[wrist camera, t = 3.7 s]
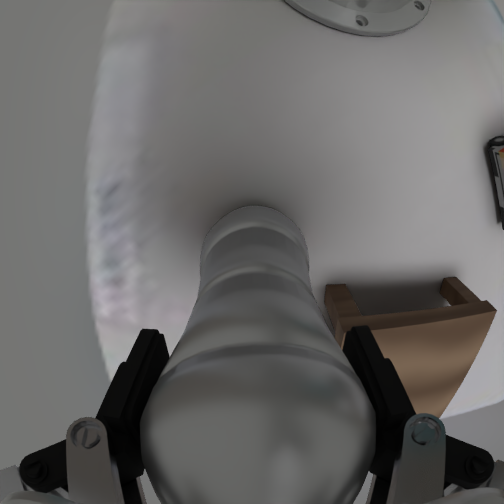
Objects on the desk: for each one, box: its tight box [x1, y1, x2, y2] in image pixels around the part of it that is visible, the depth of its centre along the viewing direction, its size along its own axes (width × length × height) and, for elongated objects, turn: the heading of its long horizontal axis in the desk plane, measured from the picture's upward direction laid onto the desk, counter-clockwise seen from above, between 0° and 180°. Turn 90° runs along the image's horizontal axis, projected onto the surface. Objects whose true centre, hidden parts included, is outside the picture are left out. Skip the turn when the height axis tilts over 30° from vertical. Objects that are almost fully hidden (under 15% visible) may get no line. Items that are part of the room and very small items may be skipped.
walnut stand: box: [324, 277, 497, 418], centre depth 21 cm, size 13×13×6 cm
